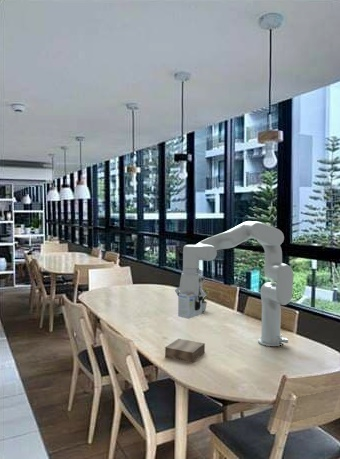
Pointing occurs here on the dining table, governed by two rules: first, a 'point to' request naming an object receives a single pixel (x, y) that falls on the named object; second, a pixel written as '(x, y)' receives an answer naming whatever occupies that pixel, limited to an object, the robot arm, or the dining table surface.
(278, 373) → the dining table surface
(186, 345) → the walnut block
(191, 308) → the light bulb box
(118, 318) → the dining table surface
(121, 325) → the dining table surface
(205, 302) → the house plant
